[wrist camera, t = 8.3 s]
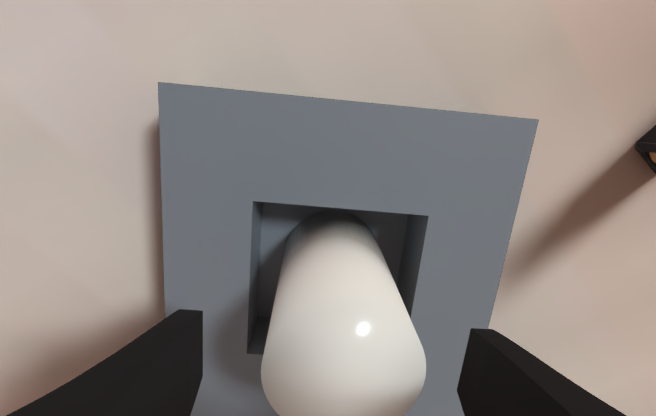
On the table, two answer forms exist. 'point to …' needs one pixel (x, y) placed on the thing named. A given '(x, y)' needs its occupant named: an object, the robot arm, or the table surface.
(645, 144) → the ammunition clip
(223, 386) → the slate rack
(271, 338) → the white rounded egg shape
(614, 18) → the table surface
